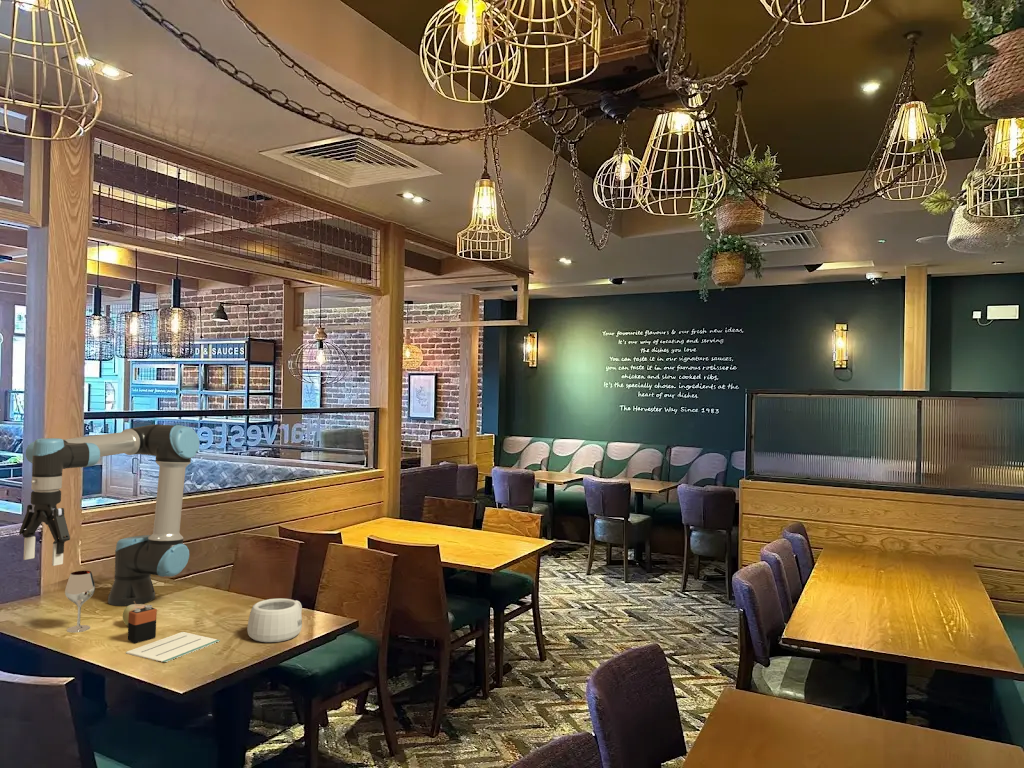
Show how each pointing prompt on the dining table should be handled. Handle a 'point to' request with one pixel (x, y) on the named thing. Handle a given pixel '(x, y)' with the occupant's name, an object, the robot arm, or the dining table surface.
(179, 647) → the order pad
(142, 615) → the battery
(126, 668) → the dining table surface
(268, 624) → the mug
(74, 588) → the wineglass
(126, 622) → the fruit
